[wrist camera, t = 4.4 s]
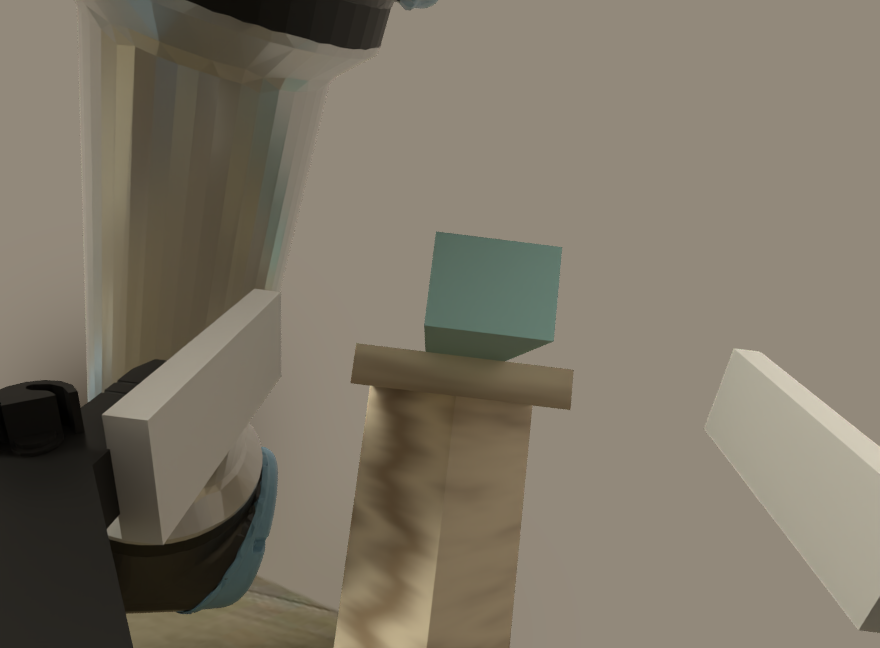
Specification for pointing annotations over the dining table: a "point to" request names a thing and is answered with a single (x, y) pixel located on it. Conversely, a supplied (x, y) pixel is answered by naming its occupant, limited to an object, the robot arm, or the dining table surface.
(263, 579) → the dining table surface
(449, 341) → the bar
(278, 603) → the dining table surface
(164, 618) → the dining table surface
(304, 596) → the dining table surface
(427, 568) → the stand
